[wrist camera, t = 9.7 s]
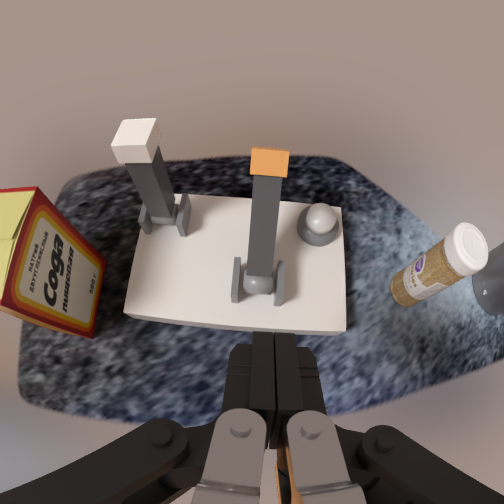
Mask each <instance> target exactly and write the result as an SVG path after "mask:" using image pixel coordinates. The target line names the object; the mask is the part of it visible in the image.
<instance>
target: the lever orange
mask: <svg viewBox="0 0 504 504" xmlns="http://www.w3.org/2000/svg"><path fill="white" fill-rule="evenodd" d="M288 159H289V151H288V150H286V149H278V148H267V147H255V146H253V147H252V155H251V168H250V174H254V181H253V193H252V206H251V219H250V232H249V245H248V258H247V269H245V270H244V281H243V293H251V294H264V295H271V294H272V287H273V271H272V268H273V259H274V251H275V242H276V233H277V224H278V215H279V205H280V196H281V186H282V177H287V169H288Z"/></svg>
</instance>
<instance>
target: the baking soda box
mask: <svg viewBox="0 0 504 504" xmlns="http://www.w3.org/2000/svg"><path fill="white" fill-rule="evenodd" d="M106 263H107V260H106V259H105V258H104V257H103V256H102V255H101V254H100V253H99V252H98V251H97V250H96V249H95V248H94V247H93V246H92V245H91V244H90V243H89V242H88V241H87V240H86V239H85V238H84V237H83V236H82V235H81V234H80V233H79V232H78V231H77V230H76V229H75V228H74V227H73V226H72V225H71V224H70V222H69V221H68V220H67V219H66V218H65V217H64V216H63V215H62V214H61V213H60V212H59V210H58V209H57V208H56V207H55V206H54V205H53V204H52V203H51V202H50V201H49V199H48V198H47V197H46V196H45V195H44V194H43V192H42V191H41V190H40V189H39V188H38V187H22V188H10V189H0V311H3V312H5V313H8V314H10V315H12V316H15V317H17V318H20V319H23V320H25V321H28V322H31V323H33V324H36V325H39V326H42V327H44V328H47V329H50V330H54V331H58V332H63V333H67V334H71V335H76V336H80V337H85V338H90V339H93V336H94V328H95V322H96V315H97V309H98V303H99V298H100V292H101V287H102V282H103V277H104V272H105V268H106Z"/></svg>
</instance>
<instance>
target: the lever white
mask: <svg viewBox="0 0 504 504" xmlns="http://www.w3.org/2000/svg"><path fill="white" fill-rule="evenodd" d="M160 138H161V133H160V130H159V126H158V123H157V119H156V118H148V119H129V120H123V121H122V123H121V125H120V127H119V129H118V131H117V133H116V136H115V138H114V140H113V142H112V144H111V148H112V150H113V152H114V154H115V156H116V158H117V160H118V163H125V165H126V167H127V169H128V171H129V173H130V176H131V178H132V180H133V182H134V184H135V186H136V188H137V190H138V192H139V194H140V196H141V198H142V200H143V202H144V204H145V206H146V208H147V210H148V212H149V214H150V216H151V222H152V223H153V224H169V225H176V219H177V215H178V210H179V204H174V203H175V196H174V193H173V190H172V187H171V184H170V180H169V177H168V174H167V171H166V168H165V165H164V161H163V158H162V155H161V151H160V148H159V145H158V144H159V141H160Z"/></svg>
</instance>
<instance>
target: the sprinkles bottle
mask: <svg viewBox="0 0 504 504" xmlns="http://www.w3.org/2000/svg"><path fill="white" fill-rule="evenodd" d="M487 261H488V246H487V243H486V240H485V238H484V237H483V235H482V233H481V232H480V231H479V229H478V228H476V227H475V226H474V225H472V224H470V223H467V222H463V223H460V224H458V225H457V226H455V227H454V228H453V229H452V230H450V231H449V232H448V234H447V235H446V237H445V238H444V239H443V240H441V241H440V242H439V243H437V244H436V245H435V246H434V247H433V248H431V249H430V250H429V251H427V252H426V253H425V254H423V255H421V256H420V257H419V258H417V259H416V260H415V261H413V262H412V263H411V264H409V265H408V266H407V267H406V268H405V269H404V270H402V271H400V272H398V273H396V274H395V275H394V277H393V279H392V281H391V284H390V290H391V294H392V297H393V299H395V301H396V302H397V303H398V304H400V305H401V306H404V307H410V306H413V305H415V304H416V303H417V302H419V301H421V300H423V299H426V298H428V297H430V296H432V295H434V294H436V293H438V292H440V291H442V290H443V289H445V288H447V287H449V286H451V285H453V284H454V283H455V282H457V281H459V280H460V279H462V278H464V277H467V276H471V275H473V274H475V273H477V272H478V271H480V270H481V269H483V268H484V267H485V265H486V264H487Z"/></svg>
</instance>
